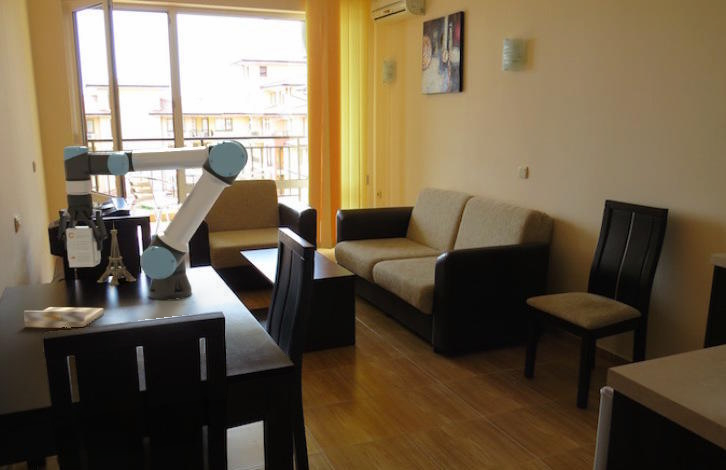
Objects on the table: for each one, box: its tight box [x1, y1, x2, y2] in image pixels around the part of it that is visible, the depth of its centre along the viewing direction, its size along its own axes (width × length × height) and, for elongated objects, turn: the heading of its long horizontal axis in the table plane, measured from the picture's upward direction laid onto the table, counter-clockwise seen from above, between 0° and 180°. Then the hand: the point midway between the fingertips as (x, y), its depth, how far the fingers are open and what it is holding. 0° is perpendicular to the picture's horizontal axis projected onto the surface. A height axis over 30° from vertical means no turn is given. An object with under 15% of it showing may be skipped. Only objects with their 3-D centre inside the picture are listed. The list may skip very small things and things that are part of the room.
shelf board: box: [23, 306, 105, 329], centre depth 183 cm, size 18×14×5 cm
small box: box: [66, 225, 101, 268], centre depth 194 cm, size 8×6×13 cm
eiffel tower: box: [96, 222, 137, 287], centre depth 230 cm, size 11×11×25 cm
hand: (84, 259), depth 195 cm, fingers closed on small box, 8 cm apart
